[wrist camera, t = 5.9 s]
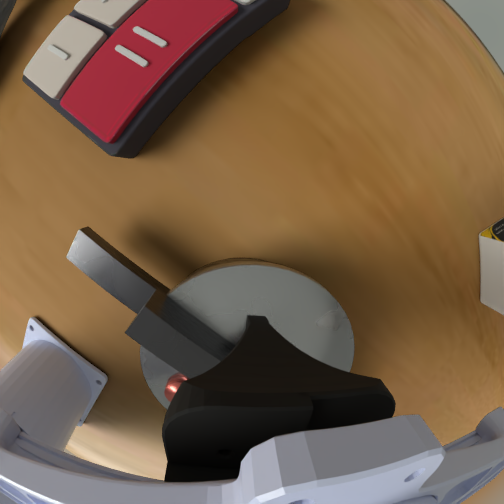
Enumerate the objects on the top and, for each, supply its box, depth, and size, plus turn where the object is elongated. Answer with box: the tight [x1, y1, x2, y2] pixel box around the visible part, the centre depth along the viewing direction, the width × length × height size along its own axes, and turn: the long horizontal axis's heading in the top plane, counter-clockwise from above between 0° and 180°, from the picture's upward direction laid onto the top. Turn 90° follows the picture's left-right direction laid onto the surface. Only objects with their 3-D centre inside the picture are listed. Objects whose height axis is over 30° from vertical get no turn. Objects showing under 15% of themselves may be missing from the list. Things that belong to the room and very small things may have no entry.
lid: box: [125, 261, 354, 409], centre depth 12 cm, size 13×11×3 cm
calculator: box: [23, 0, 290, 158], centre depth 11 cm, size 11×4×15 cm
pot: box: [66, 227, 266, 314], centre depth 15 cm, size 10×18×4 cm, turn 52°
